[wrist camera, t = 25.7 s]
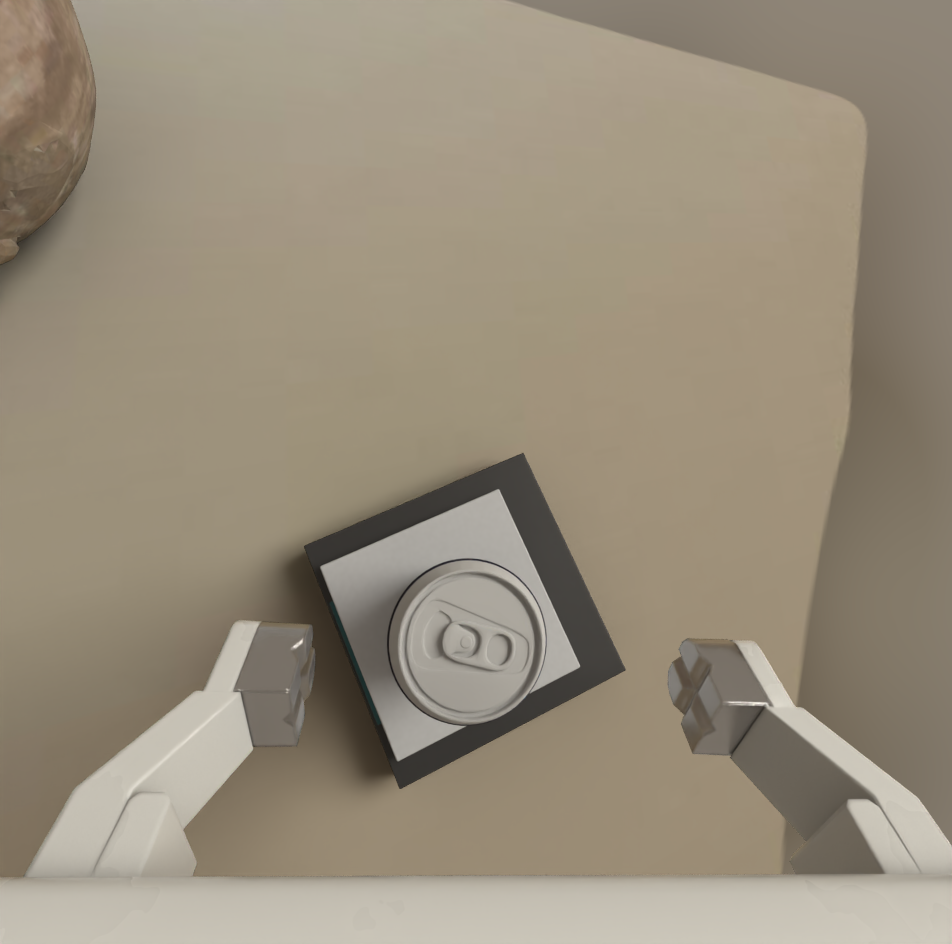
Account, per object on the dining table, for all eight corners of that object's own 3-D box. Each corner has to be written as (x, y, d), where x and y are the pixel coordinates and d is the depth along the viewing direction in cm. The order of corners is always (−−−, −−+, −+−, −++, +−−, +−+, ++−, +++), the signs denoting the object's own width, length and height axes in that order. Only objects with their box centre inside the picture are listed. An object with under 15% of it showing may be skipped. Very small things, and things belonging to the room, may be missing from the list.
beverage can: (413, 554, 29) (410, 539, 18) (511, 578, 30) (570, 578, 18) (386, 658, 28) (363, 715, 16) (488, 682, 28) (536, 754, 17)
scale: (401, 773, 30) (399, 795, 27) (312, 548, 32) (300, 545, 29) (611, 663, 32) (631, 672, 29) (516, 461, 34) (526, 449, 31)
